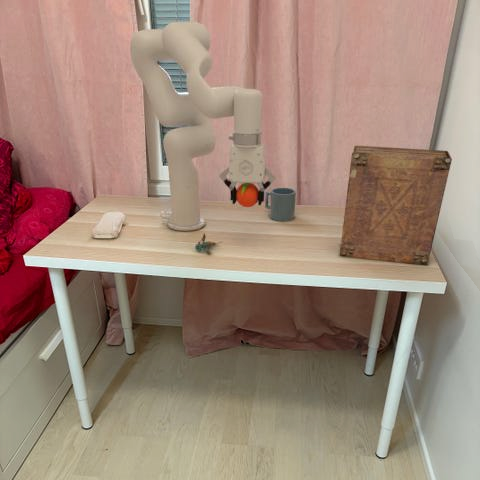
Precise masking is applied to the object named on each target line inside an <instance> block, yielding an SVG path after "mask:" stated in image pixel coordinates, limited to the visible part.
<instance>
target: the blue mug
mask: <svg viewBox="0 0 480 480" xmlns="http://www.w3.org/2000/svg"><path fill="white" fill-rule="evenodd" d="M296 194H297V191H296V190H295V189H293V188H290V187H275V188H272V189H271V190H270V191H268V190H267V191H265V194H264V208H265V209H267V210H269V215H270V216H269V217H270V219H272V220H273V221H277V222H290V221H292V220H294V219H295V213H296V211H295V210H296V198H297V197H296V196H297V195H296ZM269 196H270V205H269Z"/></svg>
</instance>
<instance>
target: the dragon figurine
mask: <svg viewBox="0 0 480 480" xmlns="http://www.w3.org/2000/svg"><path fill="white" fill-rule="evenodd" d="M206 238H207V235H206V233H203V235H202V237H201V239H200V241H198V242H197V244H196V245H195V247H194V249H195V250H197V251H200V252H202V251H204V252H206V253H208V254H210V255H211V253H212V252H211V250H209V249H210V248H212V247H213V246H216V245H219V244H222V243H223V241H219V242H217V243H216V242H215V241H208V240H207V241H206ZM201 242H202V243H201Z"/></svg>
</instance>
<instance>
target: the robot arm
mask: <svg viewBox="0 0 480 480" xmlns="http://www.w3.org/2000/svg"><path fill="white" fill-rule="evenodd" d="M210 35H211V34H210V32H209V30H208V28H207V27H206V26H205V25H204V24H203V23H201V22H199V21H198V22H197V21H173V22H170V23H168V24H167V25H166V26H165V27H163V29H160V28H147V29H142V30H139V31H137V32H135V33H134V34H133V35H132V36H131V39H130V42H129V52H130V58H131V61H132V66H133V68H134V70H135V71H136V73H137V75H138V77H139V79H140V80H141V83H142V84H143V86H144V88H145V90H146V92H147V95H148V98H149V101H150V103H151V105H152V109H153V111H154V113H155V116H156V118H157V121H158V122H159V124H160V125H162V126H163V127H166V128H168V127H171V128H172V127H176V128H173V129H170V130H168V131H167V132H166V133H165V134H164V136H163V140H162V141H163V143H162V144H163V149H164V154H165V157H166V162H167V169H168V180H169V191H170V192H169V193H170V207H171V210H170V211H160V214H159V215H160V217H161V219H162V220H168V221H167V226H168V228H169V229H171V230H175V231H180V232H191V231H196V230H199V229H201V228H203V227H204V226H205V219H203V218H202V217H201V212H200V211H201V210H200V209H201V208H200V192H199V191H200V188H199V187H200V186H199V173H198V169H197V167H196V166H195V164H194V162H193V161H192V159H195V158H200V157H204V156H208V155H210V154H212V153H213V152H214V151H215V148H216V135H215V133H214V130H213V127H212V125H211V122H210V119H211V120H212V119H213V120H215V119H221V118H231V117H233V133H229V134H228V140H231V141H233V143H232V144H230V148H229V159H228V167H227V168H225V170H223V171H222V172H221V173H220V174H219V178H220V180H222V182H223V183H224V185H225V186H226V187H227V188H228V189H229V192H230V201H232V205H235V204H236V203H237V202H238V201H237V199H236V191H237V189H238V188H237V186H236V185H237V183H238V184H239V183H240V184H243V183H252V184H256V185H257V186H258V190H259V192H258V202H257V205H258V206H261V205H262V203H263V202H264V203H265V190H267V189H268V188H269V187H270V186H271V184H273V182H274V181H275V180H276V178H277V177H276V175H275V174H274V173H273V172H272V171H270V170H269V169H268V167H266V152H265V145H264V144H263V143H262V132H263V131H262V127H263V126H262V125H263V93H262V91H261V90H259V89H255V88H245V87H242V86H238V85H230V86H216V87H211V86H210V85H209V84H208V83H207V82H206V80H205V79H204V78H206V77H207V75H209V73H210V71H211V69H212V66H213V57H212V55H211V53H210V52H209V50H210V47H211V36H210ZM158 62H175V63H176V64H177V65H178V66H179V68H181V70H182V71H183V72H184V73H185V75H186V79H185V84H186V91H187V92H178V91H177V90H176V87H175V86H174V83H173V80H172V79H171V76H170V75H169V74H168V72H167V71H166V70H165V69H164V68H163V67H162V66H161V65H160V64H159V63H158ZM179 126H183V127H179ZM227 175H228V176H227ZM266 177H268V179H267V181H266V182H264V181H265V179H266Z"/></svg>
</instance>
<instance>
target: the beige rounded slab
mask: <svg viewBox="0 0 480 480" xmlns="http://www.w3.org/2000/svg"><path fill="white" fill-rule="evenodd" d="M125 225H127V217H126V215H125V214H124V213H123V212H120V211H119V212H118V211H109V212H105V213H104V214H103V215H102V216H101V217H100V219H99V220H98V222H97V224H96V226H95V227H92V229H91V230H92V231H91V234H92V238H94V239H116V238H118V237H119V234H120V232H121V229H122V227H123V226H125Z"/></svg>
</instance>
